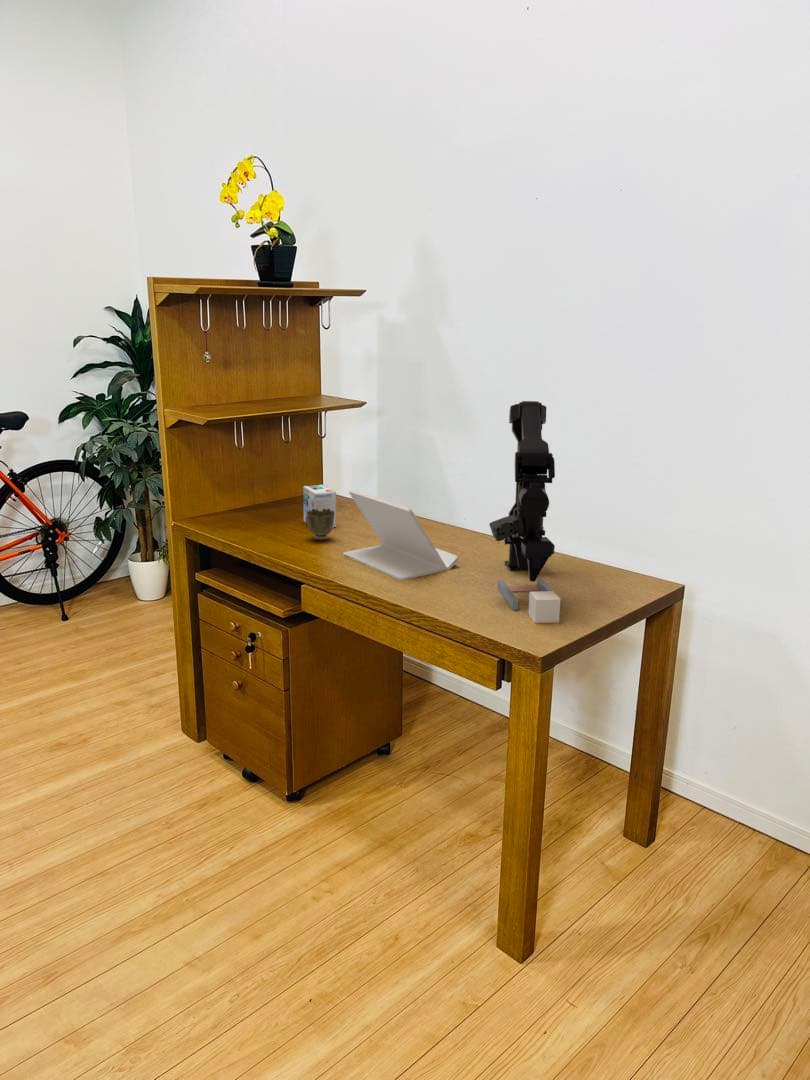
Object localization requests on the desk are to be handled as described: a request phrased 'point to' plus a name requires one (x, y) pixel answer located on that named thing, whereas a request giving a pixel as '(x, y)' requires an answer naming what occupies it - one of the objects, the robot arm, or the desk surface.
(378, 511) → the tablet stand
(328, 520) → the cup
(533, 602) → the cream block
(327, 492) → the light bulb box
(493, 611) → the desk surface
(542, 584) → the u-shaped bracket
